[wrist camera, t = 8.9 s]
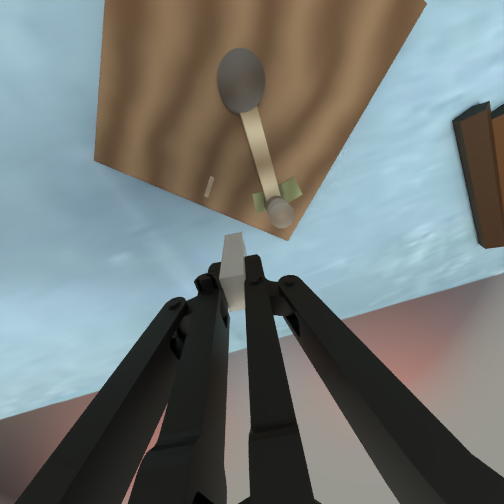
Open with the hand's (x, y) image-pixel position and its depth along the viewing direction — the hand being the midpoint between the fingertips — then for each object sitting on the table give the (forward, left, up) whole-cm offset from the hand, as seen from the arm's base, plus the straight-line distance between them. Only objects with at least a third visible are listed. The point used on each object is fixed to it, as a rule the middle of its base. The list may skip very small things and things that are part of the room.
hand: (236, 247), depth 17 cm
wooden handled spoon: (-1, +9, -13) cm, 16 cm away
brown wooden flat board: (-5, +13, -15) cm, 21 cm away
